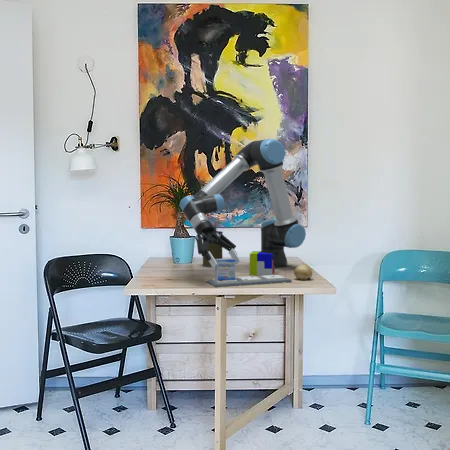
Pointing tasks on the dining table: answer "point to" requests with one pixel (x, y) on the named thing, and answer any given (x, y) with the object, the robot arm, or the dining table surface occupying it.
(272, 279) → the digit board
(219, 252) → the canister
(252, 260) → the puzzle toy
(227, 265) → the medicine box
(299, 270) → the onion
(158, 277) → the dining table surface
